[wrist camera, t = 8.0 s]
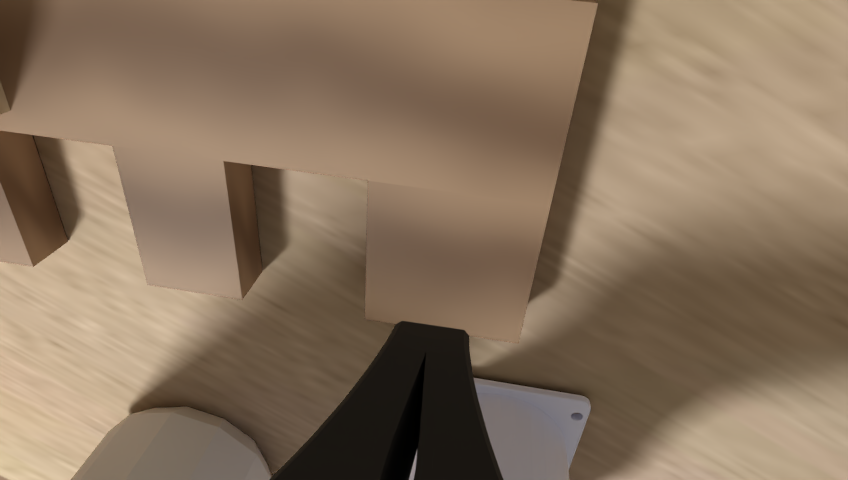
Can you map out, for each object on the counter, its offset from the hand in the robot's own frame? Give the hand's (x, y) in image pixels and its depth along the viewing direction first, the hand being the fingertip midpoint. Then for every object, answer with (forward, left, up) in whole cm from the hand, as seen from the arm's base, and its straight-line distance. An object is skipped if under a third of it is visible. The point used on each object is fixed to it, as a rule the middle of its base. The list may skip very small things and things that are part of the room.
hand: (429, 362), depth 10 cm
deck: (0, +9, -10) cm, 13 cm away
